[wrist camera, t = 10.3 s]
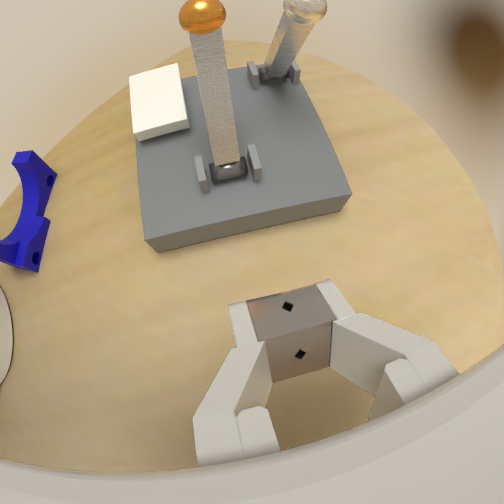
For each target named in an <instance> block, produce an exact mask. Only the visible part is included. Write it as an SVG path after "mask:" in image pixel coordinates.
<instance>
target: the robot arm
mask: <svg viewBox="0 0 504 504" xmlns="http://www.w3.org/2000/svg"><path fill="white" fill-rule="evenodd" d="M228 312H229V316H230V321H231V325H232V330H233V334H234V339H235V343H236V348H232V349H231V350H230V351H229V353H228V355H227V357H226V359H225V361H224V362H223V364H222V366H221V368H220V370H219V372H218V373H217V375H216V377H215V379H214V381H213V382H212V384H211V386H210V388H209V389H208V391H207V393H206V395H205V397H204V398H203V400H202V402H201V404H200V405H199V407H198V409H197V411H196V413H195V414H194V416H193V418H192V419H193V429H194V438H195V447H196V455H197V463H198V467H197V468H189V469H179V470H168V471H152V472H91V471H77V470H66V469H57V468H49V467H42V466H35V465H30V464H24V463H19V462H14V461H9V460H5V459H1V458H0V504H504V344H503V345H502V346H500V347H499V348H498V349H496V350H495V351H494V352H492V353H491V354H489V355H488V356H487V357H485V358H484V359H482V360H481V361H479V362H478V363H476V364H475V365H473V366H472V367H470V368H469V369H467V370H466V371H464V372H463V373H461V374H459V373H458V372H457V370H456V369H455V368H454V366H453V365H452V364H451V363H450V361H449V360H448V359H447V358H446V356H445V355H444V354H443V352H442V351H441V350H440V349H439V347H438V346H437V345H436V344H435V343H434V341H431V340H429V339H426V338H424V337H421V336H419V335H416V334H414V333H411V332H409V331H406V330H404V329H401V328H399V327H396V326H394V325H391V324H389V323H386V322H384V321H381V320H379V319H377V318H374V317H372V316H369V315H367V314H364V313H362V312H360V313H357V314H356V312H355V311H354V309H353V308H352V307H351V305H350V304H349V303H348V301H347V300H346V298H345V297H344V296H343V294H342V293H341V292H340V290H339V289H338V287H337V286H336V285H335V283H334V282H333V281H332V280H330V279H328V280H325V281H322V282H318V283H315V284H313V285H309V286H306V287H302V288H298V289H294V290H291V291H287V292H283V293H278V294H274V295H270V296H265V297H261V298H256V299H252V300H247V301H246V302H245V301H244V302H239V303H234V304H230V305H228ZM12 342H13V337H12V323H11V317H10V312H9V308H8V304H7V301H6V298H5V296H4V294H3V292H2V290H1V288H0V384H1V382H2V381H3V379H4V378H5V376H6V374H7V371H8V369H9V365H10V361H11V355H12ZM329 366H330V368H331V369H333V370H334V371H336V372H337V373H339V374H340V375H342V376H343V377H345V378H346V379H348V380H349V381H351V382H352V383H354V384H355V385H357V386H359V387H360V388H362V389H363V390H365V391H366V392H368V393H369V394H371V395H373V396H374V397H375V400H374V403H373V405H372V408H371V411H370V414H369V416H368V418H369V420H370V421H369V422H366V423H364V424H361V425H359V426H356V427H354V428H351V429H349V430H346V431H343V432H341V433H338V434H335V435H332V436H329V437H326V438H324V439H321V440H317V441H314V442H311V443H308V444H305V445H301V446H298V447H295V448H291V449H287V450H284V451H281V450H280V447H279V444H278V441H277V438H276V435H275V431H274V428H273V425H272V422H271V419H270V415H269V412H268V409H266V408H265V407H266V404H267V401H268V398H269V395H270V392H271V389H272V385H273V384H272V383H275V382H278V381H282V380H285V379H288V378H292V377H295V376H298V375H301V374H305V373H308V372H312V371H315V370H319V369H322V368H326V367H329Z"/></svg>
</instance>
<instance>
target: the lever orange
mask: <svg viewBox="0 0 504 504" xmlns="http://www.w3.org/2000/svg"><path fill="white" fill-rule="evenodd" d="M225 18H226V11H225V8H224V6H223V4H222V3H221V2H220V1H219V0H188V1H187V2H186V3H185V4H184V5H183V6H182V8H181V9H180V12H179V22H180V25H181V27H182V28H183V29H184V30H185V31H186V32H188V33H189V35H190V41H191V46H192V52H193V57H194V62H195V68H196V73H197V78H198V83H199V89H200V94H201V99H202V104H203V109H204V114H205V119H206V124H207V129H208V134H209V139H210V144H211V149H212V154H213V159H214V162H212V163H208V165H209V169H210V174H211V179H212V182H215V181H220V180H224V179H229V178H233V177H238V176H242V175H247V174H248V167H247V162H246V159H245V156H239V149H238V141H237V135H236V128H235V121H234V114H233V107H232V100H231V93H230V86H229V79H228V72H227V65H226V58H225V51H224V44H223V37H222V30H221V26H222V25H223V23H224V21H225Z"/></svg>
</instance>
